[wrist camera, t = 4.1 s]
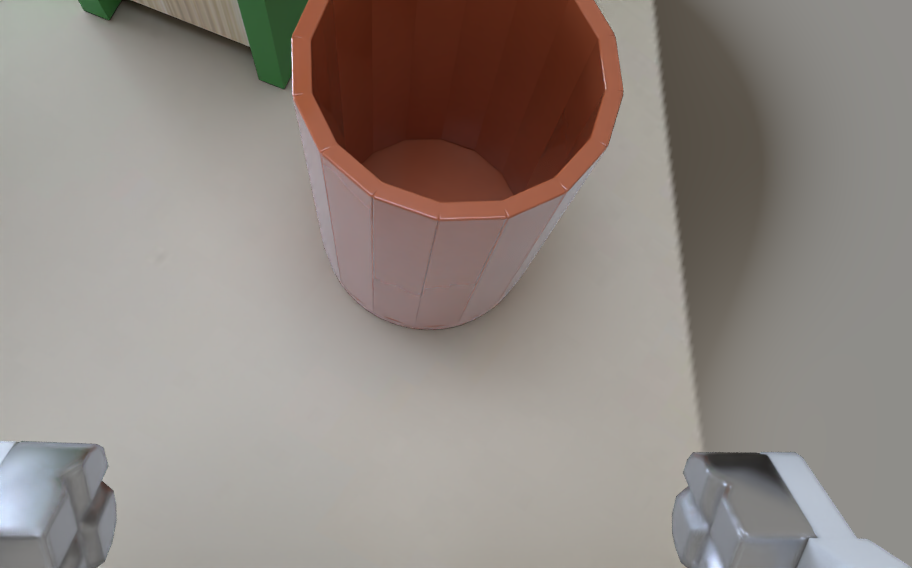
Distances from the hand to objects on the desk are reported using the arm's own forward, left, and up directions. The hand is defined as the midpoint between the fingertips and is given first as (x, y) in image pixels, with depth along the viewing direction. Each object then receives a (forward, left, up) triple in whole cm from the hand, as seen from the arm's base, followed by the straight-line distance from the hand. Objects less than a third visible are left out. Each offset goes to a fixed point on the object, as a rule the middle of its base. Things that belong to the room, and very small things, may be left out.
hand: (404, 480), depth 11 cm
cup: (+8, +2, -12) cm, 15 cm away
